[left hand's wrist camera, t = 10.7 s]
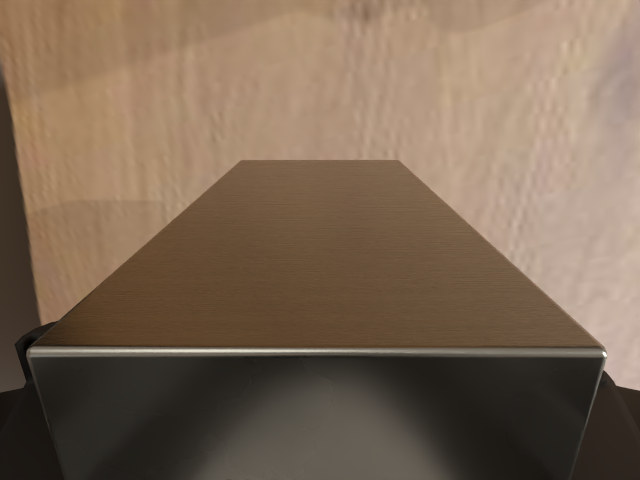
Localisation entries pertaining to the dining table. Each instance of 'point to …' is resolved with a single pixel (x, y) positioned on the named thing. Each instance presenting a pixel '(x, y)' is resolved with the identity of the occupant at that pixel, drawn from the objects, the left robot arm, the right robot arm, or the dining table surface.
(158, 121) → the dining table surface
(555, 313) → the box
